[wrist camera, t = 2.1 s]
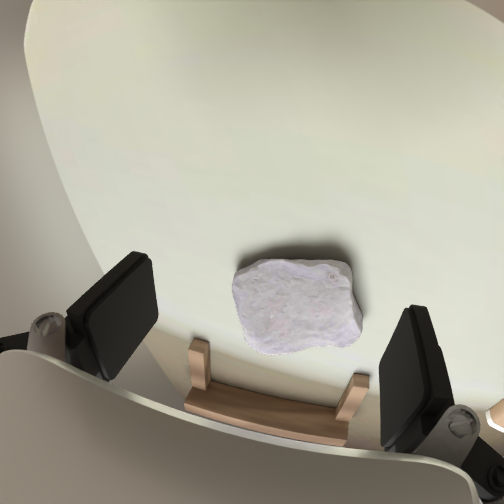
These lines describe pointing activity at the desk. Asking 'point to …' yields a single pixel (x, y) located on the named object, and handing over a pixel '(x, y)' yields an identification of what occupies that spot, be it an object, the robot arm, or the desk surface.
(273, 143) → the desk surface
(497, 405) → the record player
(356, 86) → the desk surface
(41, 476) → the robot arm
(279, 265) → the stone block
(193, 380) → the walnut frame
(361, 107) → the desk surface
